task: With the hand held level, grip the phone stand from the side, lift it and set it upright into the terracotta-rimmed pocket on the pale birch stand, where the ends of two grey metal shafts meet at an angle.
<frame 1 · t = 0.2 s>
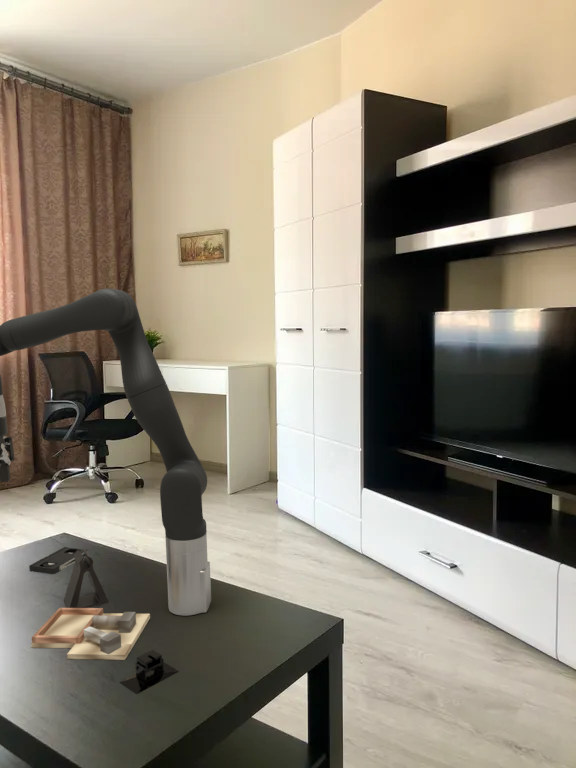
build plate: (150, 680, 114), on the table
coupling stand: (69, 631, 132), on the table
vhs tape: (59, 565, 171), on the table
phone stand: (86, 603, 146), on the table
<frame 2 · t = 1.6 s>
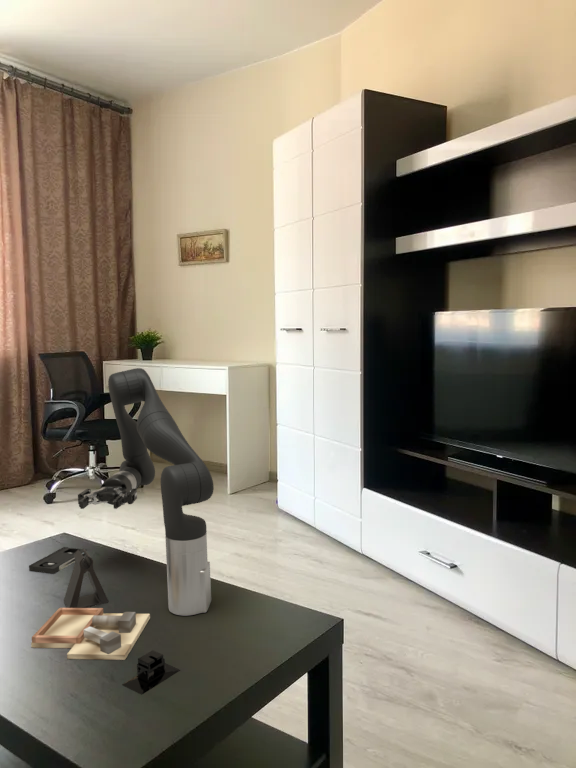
hand: (98, 505, 155), 20 cm above the table, tool horizontal, fingers open, 8 cm apart
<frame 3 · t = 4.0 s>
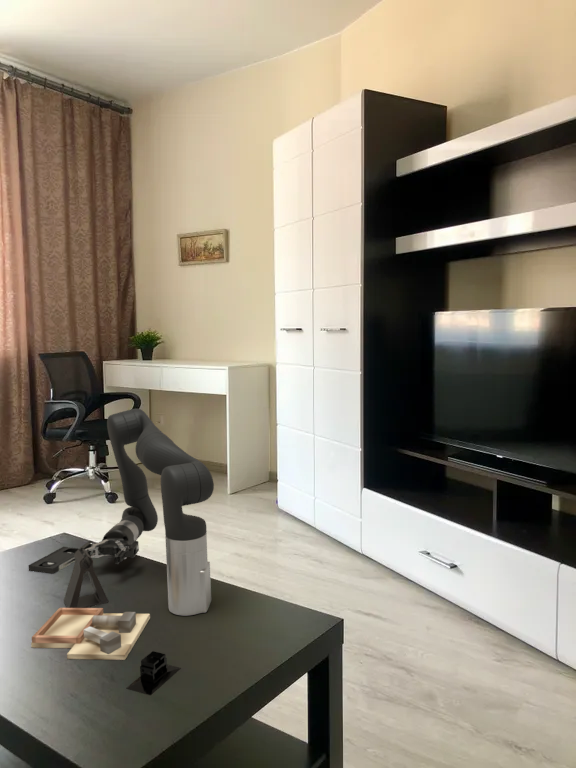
hand: (99, 560, 154), 6 cm above the table, tool horizontal, fingers open, 8 cm apart
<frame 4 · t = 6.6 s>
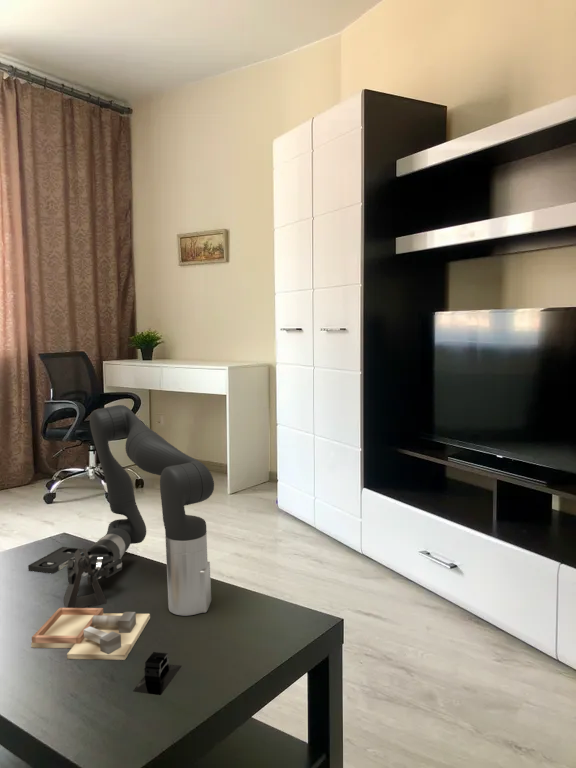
hand: (80, 580, 142), 7 cm above the table, tool horizontal, fingers closed on phone stand, 3 cm apart
phone stand: (85, 603, 146), on the table, touching gripper
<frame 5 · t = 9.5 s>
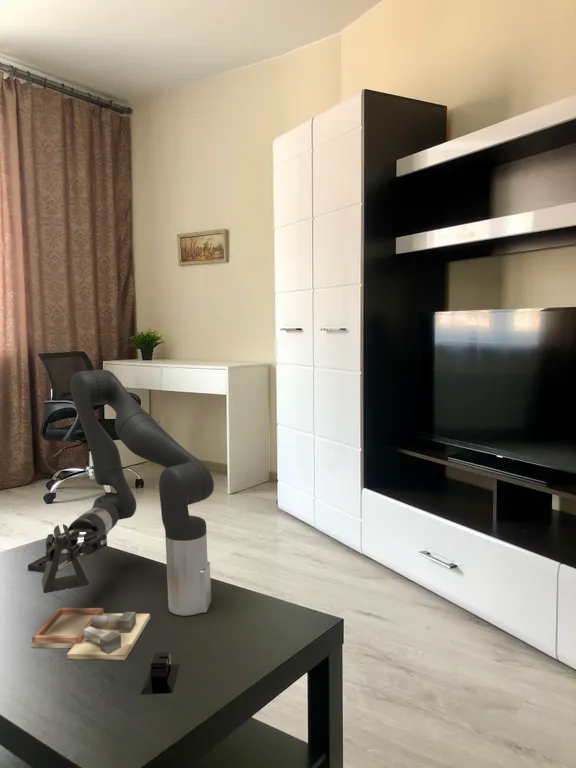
hand: (58, 556, 127), 18 cm above the table, tool horizontal, fingers closed on phone stand, 3 cm apart
phone stand: (65, 584, 131), point 10 cm above the table, touching gripper
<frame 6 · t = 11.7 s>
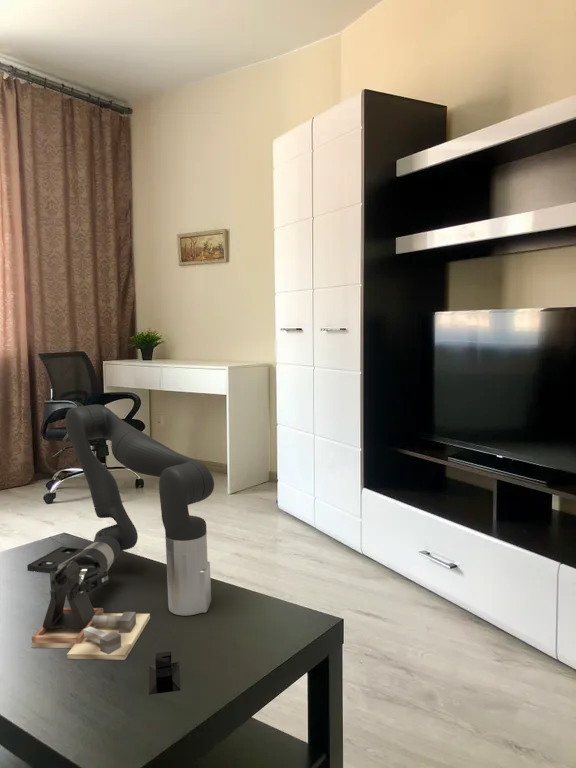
hand: (61, 596, 128), 9 cm above the table, tool horizontal, fingers closed on phone stand, 2 cm apart
phone stand: (69, 622, 132), point 2 cm above the table, touching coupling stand, gripper
when the fingers open (9 cm above the table, at t = 11.7 s): phone stand stays where it is, resting on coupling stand.
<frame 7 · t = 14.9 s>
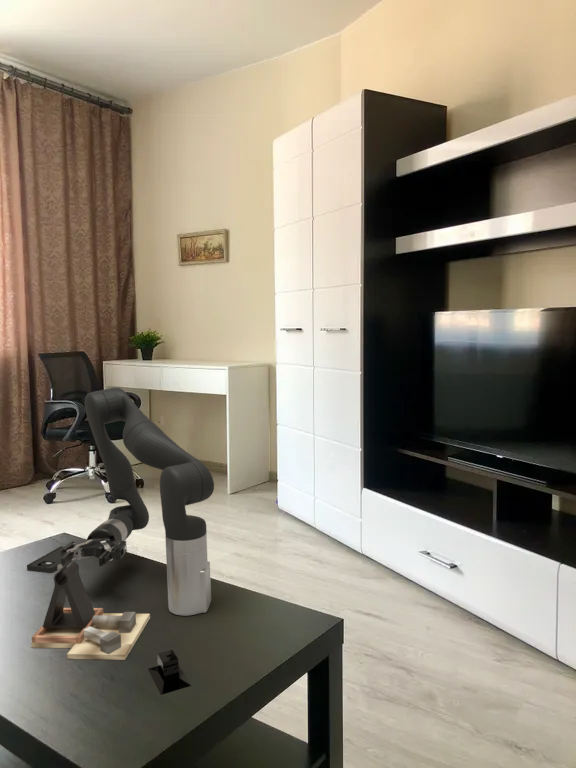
hand: (82, 562, 138), 12 cm above the table, tool horizontal, fingers open, 8 cm apart
phone stand: (69, 622, 132), point 2 cm above the table, touching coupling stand
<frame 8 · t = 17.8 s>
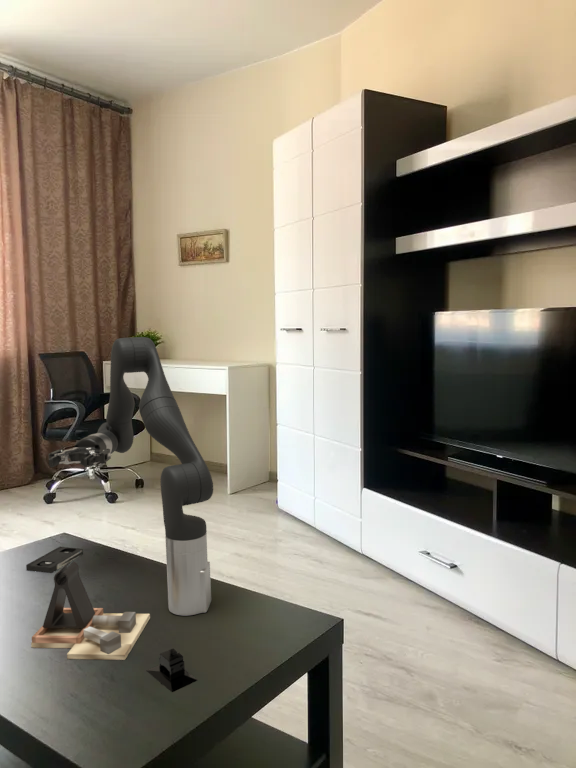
hand: (68, 462, 149), 32 cm above the table, tool horizontal, fingers open, 8 cm apart
at the end: phone stand 0.4 cm off-centre on the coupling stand, point 2.0 cm above the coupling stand's base; phone stand tilted 0°; the gripper is holding nothing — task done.
